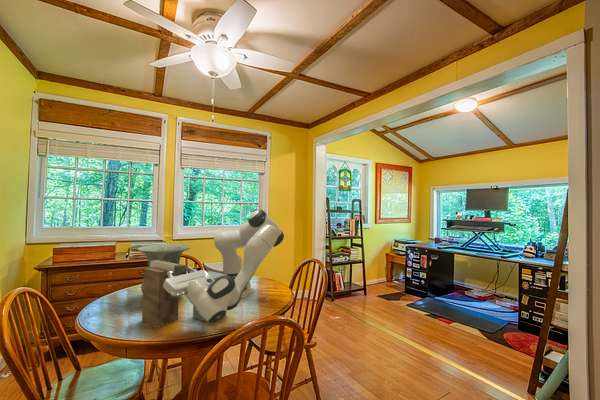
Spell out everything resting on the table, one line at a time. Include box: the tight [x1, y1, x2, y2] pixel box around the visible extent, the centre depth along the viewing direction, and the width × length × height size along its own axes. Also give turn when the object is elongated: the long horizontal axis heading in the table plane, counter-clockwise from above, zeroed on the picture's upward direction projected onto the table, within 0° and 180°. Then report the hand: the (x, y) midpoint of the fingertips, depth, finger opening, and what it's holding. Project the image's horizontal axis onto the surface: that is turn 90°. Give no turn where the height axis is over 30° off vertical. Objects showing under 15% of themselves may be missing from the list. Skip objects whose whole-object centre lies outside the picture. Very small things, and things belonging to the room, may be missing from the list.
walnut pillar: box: [141, 267, 180, 328], centre depth 127 cm, size 10×12×24 cm
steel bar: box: [150, 260, 187, 274], centre depth 125 cm, size 3×22×3 cm, turn 60°
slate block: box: [192, 271, 227, 324], centre depth 133 cm, size 10×12×20 cm
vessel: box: [136, 243, 191, 301], centre depth 154 cm, size 27×27×30 cm
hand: (178, 269), depth 121 cm, fingers open, 8 cm apart
